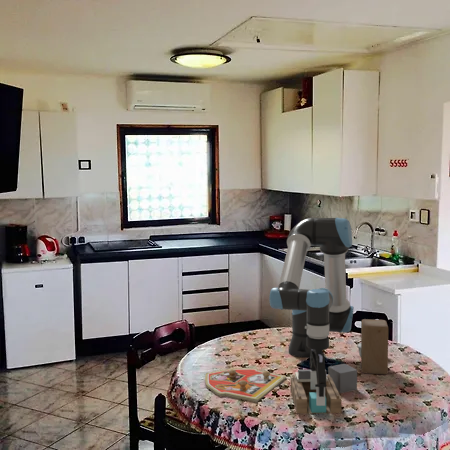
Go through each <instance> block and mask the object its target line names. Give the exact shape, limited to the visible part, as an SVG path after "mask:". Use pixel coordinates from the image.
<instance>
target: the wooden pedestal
mask: <svg viewBox="0 0 450 450" xmlns="http://www.w3.org/2000/svg"><path fill="white" fill-rule="evenodd" d="M326 376H327V378H328V382H326V384H327V386H326V387H325V396H326V413H325V414H342V396H341V394H340V393H339V392H338V390H337V388H336V386H335V384H334V382H333V380H332V378H331V377H330V375H328V374H326ZM309 392H317V389H311V382H297V379H296V376H295V374H293V375H292V377H290V394H291V397H292V401H293V405H294V408H295V409H294V410H295V412H296V414H297V415H298V414H302V415H303V414H305V415H306V414H307V415H309V414H310V415H311V414H315V415H316V414H320V413H311V410H310V407H309Z"/></svg>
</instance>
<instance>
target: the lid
mask: <svg viewBox="0 0 450 450" xmlns="http://www.w3.org/2000/svg"><path fill="white" fill-rule="evenodd" d="M297 370H298V371H295V372H294V375H295V378H296V379H297V382H311V371H312V370H311V369H297ZM325 373H326V374H327V370H326V368H325ZM326 382H328V378H327V375H326Z"/></svg>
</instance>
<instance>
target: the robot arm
mask: <svg viewBox="0 0 450 450" xmlns="http://www.w3.org/2000/svg"><path fill="white" fill-rule="evenodd" d="M352 235H353V233H352V226H351V223H350V221H349V220H348V219H347V218H343V217H307V218H305V219H303V220H301V221H299V222H298V223H296V225H294V227H293V228H292V229H291V230H290V232H289V234H288V236H287V239H286V245H287V251H286V255H285V258H284V262H283V265H282V266H283V267H282V271H281V275H280V278H279V282H278V286H277V287H272V288H271V289H270V292H269V296H268V297H269V300H268V302H269V306H270V307H271V308H272V309H274V310H275V309H277V310H284V311H285V310H288V311H289V310H290V311H291V312H292V313H291V315H292V316H291V319H292V321H291V322H292V326H291V328H292V334H291V335H292V336H291V339H290V341H289V345H288V353H289V354H290V355H291V356H294V357H297V358H298V357H299V358H306V359H309V370H312V371H311V389H317V400H316V405H317V406H325V387H326V386H327V384H326V376H327V372H326V373H325V369H326V362H325V361H326V360H325V359H326V356H325V353H324V350H327V349H329V348H330V337H329V336H330V332H331V333H340V334H341V333H344V334H345V333H349V332H350V331H352V330H351V329H352V324H353V323H352V321H353V315H354V306H353V305H351V303H350V301H349V300H348V299H347V283H346V282H347V281H346V277H347V276H346V254H347V252H348V251H349V248H350V247H352V246H353V236H352ZM311 247H319V252H321V254H322V255H323V260H324V261H323V265H324V284H325V285H324V286H325V288H324V287H321V288H320V287H319V288H312V289H306V288H305V289H302V288H300V286H301V281H302V275H303V273H304V272H303V270H304V267H305V262H306V258H307V253H308V251H309V250H310V248H311Z"/></svg>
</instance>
